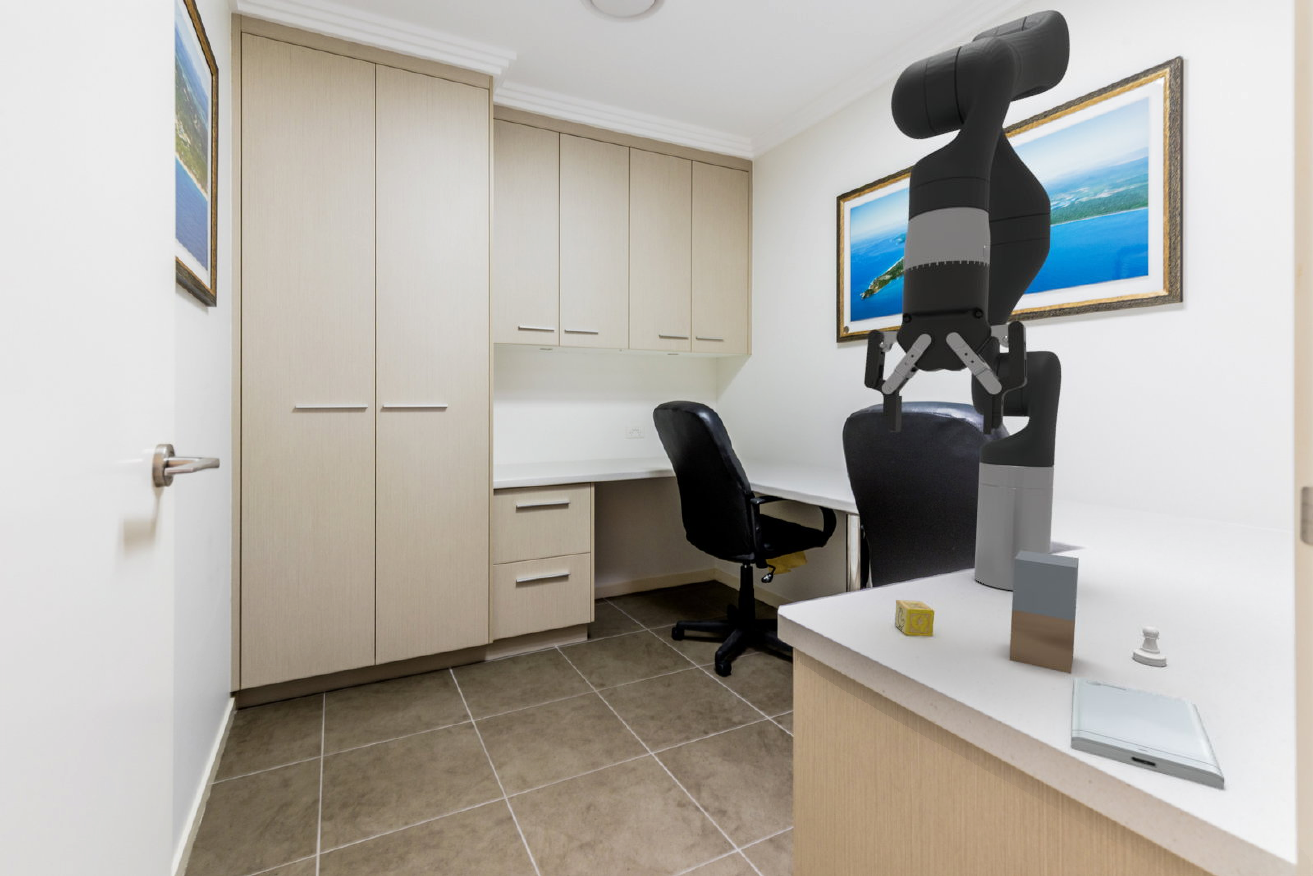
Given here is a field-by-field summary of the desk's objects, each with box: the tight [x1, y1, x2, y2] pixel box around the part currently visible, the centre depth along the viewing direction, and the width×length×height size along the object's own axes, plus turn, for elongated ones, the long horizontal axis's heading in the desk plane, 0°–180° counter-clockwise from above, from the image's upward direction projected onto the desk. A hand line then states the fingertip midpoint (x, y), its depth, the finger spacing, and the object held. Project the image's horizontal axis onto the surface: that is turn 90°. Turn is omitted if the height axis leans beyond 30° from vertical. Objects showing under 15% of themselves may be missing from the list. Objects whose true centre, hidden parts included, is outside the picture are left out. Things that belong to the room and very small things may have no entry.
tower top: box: [1011, 550, 1080, 621], centre depth 60 cm, size 5×5×5 cm
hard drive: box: [1070, 677, 1225, 790], centre depth 47 cm, size 2×8×12 cm
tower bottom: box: [1009, 609, 1076, 675], centre depth 60 cm, size 5×5×5 cm
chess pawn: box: [1132, 625, 1167, 667], centre depth 60 cm, size 3×3×4 cm
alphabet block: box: [894, 599, 935, 637], centre depth 68 cm, size 3×3×3 cm
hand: (939, 433), depth 60 cm, fingers open, 8 cm apart
